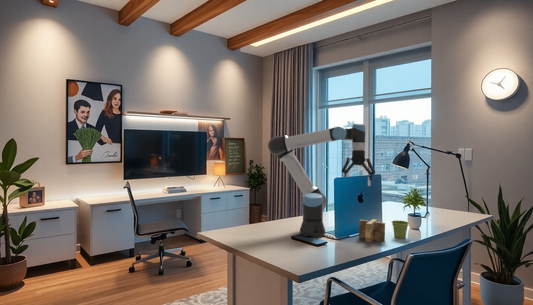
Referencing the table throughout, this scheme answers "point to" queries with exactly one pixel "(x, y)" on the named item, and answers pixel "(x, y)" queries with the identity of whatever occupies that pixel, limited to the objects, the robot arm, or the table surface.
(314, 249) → the table surface
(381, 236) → the wooden u-shaped block
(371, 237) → the oak board
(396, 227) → the plant pot
